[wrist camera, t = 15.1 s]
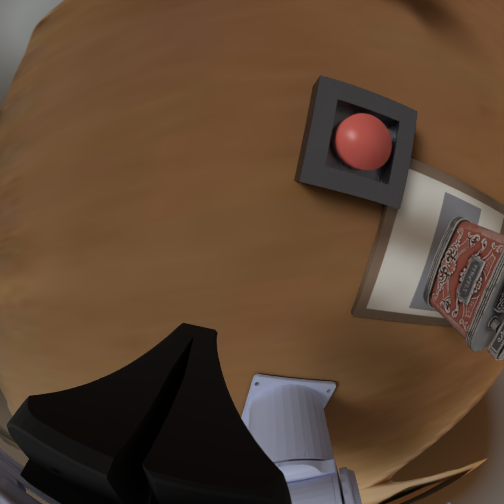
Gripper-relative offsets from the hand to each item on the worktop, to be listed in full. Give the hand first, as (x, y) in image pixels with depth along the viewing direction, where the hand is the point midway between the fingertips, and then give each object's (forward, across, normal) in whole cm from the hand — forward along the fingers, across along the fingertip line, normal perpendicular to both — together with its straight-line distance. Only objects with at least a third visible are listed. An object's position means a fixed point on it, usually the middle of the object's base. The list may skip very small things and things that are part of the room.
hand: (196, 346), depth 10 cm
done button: (+9, -7, -10) cm, 15 cm away
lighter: (+10, -18, -4) cm, 21 cm away
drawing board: (+10, -18, -4) cm, 21 cm away
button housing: (+10, -7, -10) cm, 16 cm away
